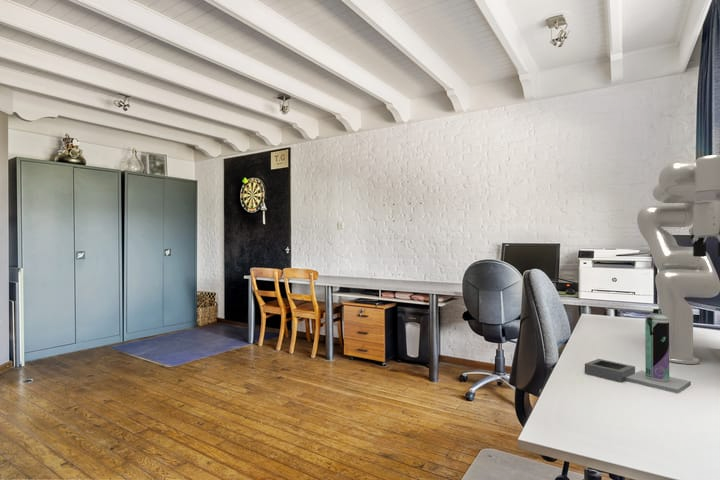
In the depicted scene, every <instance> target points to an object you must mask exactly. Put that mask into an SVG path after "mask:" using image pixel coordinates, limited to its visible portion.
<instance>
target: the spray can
mask: <svg viewBox="0 0 720 480" xmlns="http://www.w3.org/2000/svg"><path fill="white" fill-rule="evenodd" d="M668 319H669V318H667V317H665V316H664V315H663V314H662V312H661V309H659V308H653V309H652V312H650V313H649V314H648V315H646V316H645V324H644V325H645V326H644V327H645V335H644V336H645V337H644V338H645V341H644V342H645V371H646V378H647V379H650V380H654V381H659V382H669V377H670V362H669V320H668Z"/></svg>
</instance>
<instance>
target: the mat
mask: <svg viewBox="0 0 720 480" xmlns="http://www.w3.org/2000/svg"><path fill="white" fill-rule="evenodd" d="M625 382H629V383H633V384H637V385H641V386H642V385H643V386H646V387H650V388H653V389H659V390H661V391H662V390H663V391H665V392H671V393H675V394H679V393H681V392H682V391H684V390H685V389H687V388H688V387H690V386H691V383H692V381H691V380H687V379H683V378H682V379H681V378H680V377H679V378H678V377H674V376H669V382H659V381H654V380H650V379H647V378H646V370H638V371H637V372H636V371H635V373H634V374H632V375H630V376H628V377H626V381H625Z"/></svg>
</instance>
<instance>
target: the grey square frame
mask: <svg viewBox="0 0 720 480" xmlns="http://www.w3.org/2000/svg"><path fill="white" fill-rule="evenodd" d="M634 373H636V366H635V365H630V364H625V363H621V362H616V361H611V360H606V359H601V358H597V359H594V360H592V361H589V362H586V363H584V374H585V375H589V376H593V377H598V378H602V379H605V380H608V381H613V382H617V383H621V384H623V383H625V382H627V381H626V377H628V376H630V375H632V374H634Z"/></svg>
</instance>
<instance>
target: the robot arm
mask: <svg viewBox="0 0 720 480" xmlns="http://www.w3.org/2000/svg"><path fill="white" fill-rule="evenodd" d="M652 191H653V192H652V196H653V198H654V199H655V200H656V201H657V202H658V203H662V204H668V205H661V204H660V205H659V204H658V205H650V206H645V207H643V208H641V209H640V210H639V211H638V213H637V217H636V220H637V221H636V222H637V226H638V230H639V232H640V234H641V235H642V237H643V239H644V240H645V241H646V242H647V245H648V247H649V251H650V255H651V257H652V259H653V264H654V265H655V268H656V269H658V270H659V272H657V274H656V275H655V279H654V281H655V288H656V292H657V299H658V300H657V301H658V302H657V303H658V306H657V307H658V309H661V312H662V314H663V315H664V316H665V317H667V318H669V319H668V320H669V363H675V364H683V365H697V364H699V363H700V358H698V357H696V356H694V310H693V307H692V306H691V305H690V304H689V303H688V302H687V300H686V299H685V298H701V299H702V298H705V299H706V298H707V299H709V298H713V297H716V296H718V295H719V294H720V278H719V275H718V273H717V271H716V268H715V266H714V264H713V261H712V259H711V257H710V255H709V253H708V252H707V243H705V242H706V241H707V239H708V237H709V238H717V240H718V241H719V242H717V257H718V258H720V154H711V155H703V156H701V157H698V158H697V159H696V160H691V161H689V160H687V161H676V162H672V163H669V164H667V165H666V166H664V167H663V168H662V169H661V170H660V172H659V177H658V184H656V186H655V187H654V188H653V189H652ZM671 204H673V205H671ZM675 204H676V205H675ZM690 226H692V227H690ZM686 227H690V228H689V229H688V233H689V236H690V237H689V238H690V239H691V244H692V246H680V245H679V244H678V243H677V240H676V237H674V236H673V235H672V234H671V233H670V232H669V231H668V230H666V229H664V228H686Z"/></svg>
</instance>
